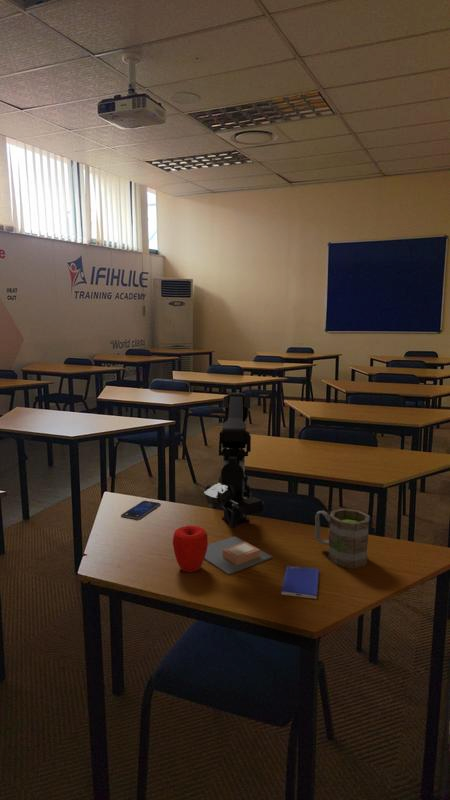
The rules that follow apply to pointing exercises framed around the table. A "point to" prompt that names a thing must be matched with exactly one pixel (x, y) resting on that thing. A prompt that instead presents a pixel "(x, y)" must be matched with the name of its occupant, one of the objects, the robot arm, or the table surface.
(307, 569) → the hard drive
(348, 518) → the mug
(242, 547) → the tile
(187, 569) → the apple
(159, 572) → the table surface
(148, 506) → the smartphone
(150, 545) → the table surface
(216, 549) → the mat
